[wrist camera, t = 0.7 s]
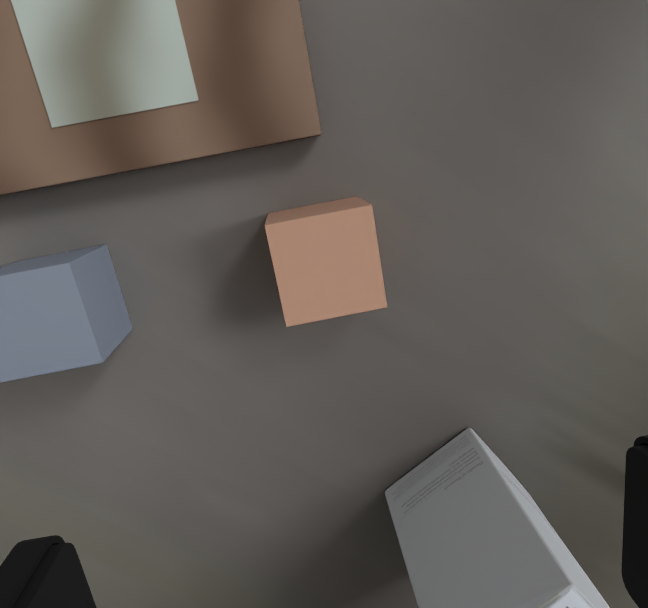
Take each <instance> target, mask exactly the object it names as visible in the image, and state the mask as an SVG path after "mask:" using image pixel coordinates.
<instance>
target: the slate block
mask: <svg viewBox="0 0 648 608" xmlns="http://www.w3.org/2000/svg"><path fill="white" fill-rule="evenodd" d="M132 329H133V328H132V324H131V321H130V318H129V315H128V312H127V308H126V305H125V302H124V299H123V296H122V292H121V289H120V286H119V283H118V280H117V276H116V273H115V270H114V267H113V264H112V260H111V257H110V254H109V251H108V248H107V244H104V245H99V246H94V247H89V248H83V249H78V250H73V251H68V252H62V253H57V254H52V255H47V256H42V257H36V258H31V259H26V260H21V261H16V262H13V263H10V264H8V265H5V266H3V267H0V383H1V382H6V381H11V380H16V379H21V378H27V377H32V376H37V375H42V374H47V373H52V372H57V371H63V370H68V369H73V368H78V367H83V366H88V365H94V364H99V363H103V362H104V361H105V360H106V359H107V357H108V356H109V355H110V354H111V353H112V352H113V351H114V350H115V348H116V347H117V346H118V345H119V344H120V343H121V342H122V340H123V339H124V338H125V337H126V336H127V335H128V334H129V333H130V331H131V330H132Z"/></svg>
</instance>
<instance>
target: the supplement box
mask: <svg viewBox="0 0 648 608" xmlns="http://www.w3.org/2000/svg"><path fill="white" fill-rule="evenodd" d="M385 496H386V500H387V503H388V507H389V510H390V514H391V517H392V521H393V524H394V527H395V530H396V534H397V537H398V540H399V544H400V547H401V551H402V554H403V557H404V561H405V564H406V568H407V571H408V574H409V578H410V581H411V584H412V588H413V591H414V595H415V598H416V601H417V604H418V608H610V607H609V606H608V604H607V603H606V602H605V600H604V599H603V597H602V596H601V595H600V593H599V592H598V590H597V589H596V588H595V586H594V585H593V583H592V582H591V581H590V579H589V578H588V576H587V575H586V574H585V572H584V571H583V570H582V568H581V567H580V565H579V564H578V563H577V561H576V560H575V558H574V557H573V556H572V554H571V553H570V551H569V550H568V549H567V547H566V546H565V544H564V543H563V541H562V540H561V539H560V537H559V536H558V535H557V533H556V532H555V530H554V529H553V528H552V526H551V525H550V523H549V522H548V521H547V519H546V518H545V516H544V515H543V513H542V512H541V510H540V509H539V507H538V506H537V505H536V503H535V502H534V500H533V499H532V497H531V496H530V495H529V493H528V492H527V491H526V490H525V488H524V487H523V486H522V485H521V484H520V482H519V481H518V480H517V479H516V478H515V477H514V475H513V474H512V473H511V472H510V471H509V470H508V468H507V467H506V466H505V465H504V464H503V463H502V462H501V461H500V459H499V458H498V457H497V456H496V455H495V454H494V453H493V452H492V451H491V450H490V448H489V447H488V446H487V445H486V444H485V443H484V442H483V441H482V440H481V438H480V437H479V436H478V435H477V434H476V433H475V432H474V431H473V430H472V428H467V429H466V430H464V431H463V432H462V433H460V434H459V435H458V436H456V437H455V438H453V439H452V440H451V441H450V442H448V443H447V444H446V445H444V446H443V447H442V448H440V449H439V450H438V451H436V452H435V453H434V454H432V455H431V456H430V457H428V458H427V459H426V460H424V461H423V462H422V463H420V464H419V465H418V466H416V467H415V468H414V469H413V470H411V471H410V472H408V473H407V474H406V475H405V476H403V477H402V478H401V479H399V480H398V481H397V482H395V483H394V484H393V485H392V486H390V487H389V488H388V489H387V490H386V491H385Z"/></svg>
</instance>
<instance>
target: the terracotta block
mask: <svg viewBox="0 0 648 608" xmlns="http://www.w3.org/2000/svg"><path fill="white" fill-rule="evenodd" d="M265 229H266V234H267V239H268V243H269V248H270V253H271V257H272V262H273V267H274V271H275V276H276V281H277V285H278V290H279V295H280V299H281V304H282V309H283V313H284V318H285V323H286V327H288V326H294V325H299V324H304V323H309V322H314V321H319V320H324V319H330V318H335V317H340V316H345V315H350V314H355V313H360V312H366V311H371V310H376V309H381V308H386V307H387V302H386V295H385V288H384V282H383V275H382V268H381V261H380V255H379V248H378V241H377V235H376V228H375V221H374V215H373V208H372V205H371V204H370V203H368V202H366V201H365V200H363V199H361V198H360V197H358V196H356V197H351V198H345V199H340V200H335V201H330V202H324V203H319V204H314V205H309V206H303V207H298V208H293V209H288V210H282V211H277V212H272V213H268V216H267V219H266V222H265Z"/></svg>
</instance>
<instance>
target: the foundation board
mask: <svg viewBox="0 0 648 608" xmlns="http://www.w3.org/2000/svg"><path fill="white" fill-rule="evenodd" d="M321 134H322V132H321V126H320V120H319V115H318V109H317V103H316V97H315V91H314V86H313V80H312V74H311V68H310V62H309V57H308V51H307V45H306V39H305V33H304V28H303V22H302V16H301V10H300V4H299V0H0V195H6V194H11V193H16V192H22V191H27V190H32V189H38V188H43V187H48V186H53V185H59V184H64V183H69V182H75V181H80V180H85V179H91V178H96V177H101V176H106V175H112V174H117V173H122V172H128V171H133V170H138V169H143V168H149V167H154V166H159V165H165V164H170V163H175V162H181V161H186V160H191V159H196V158H202V157H207V156H212V155H218V154H223V153H228V152H234V151H239V150H244V149H249V148H255V147H260V146H265V145H271V144H276V143H281V142H287V141H292V140H297V139H302V138H308V137H313V136H318V135H321Z"/></svg>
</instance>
